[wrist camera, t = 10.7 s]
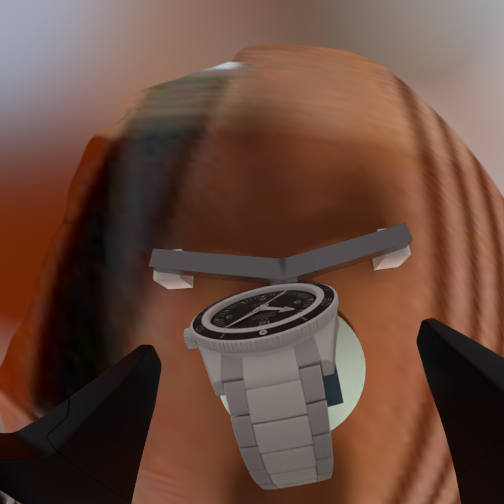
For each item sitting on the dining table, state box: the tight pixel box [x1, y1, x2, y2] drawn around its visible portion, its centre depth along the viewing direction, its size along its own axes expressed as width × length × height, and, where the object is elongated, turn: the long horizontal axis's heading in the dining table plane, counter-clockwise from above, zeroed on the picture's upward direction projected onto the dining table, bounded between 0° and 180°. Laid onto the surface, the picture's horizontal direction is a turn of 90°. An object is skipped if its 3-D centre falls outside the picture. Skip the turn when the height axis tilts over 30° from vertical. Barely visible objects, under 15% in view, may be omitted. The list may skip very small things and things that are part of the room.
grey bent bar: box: [149, 223, 413, 284], centre depth 16 cm, size 16×3×1 cm, turn 93°
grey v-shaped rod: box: [153, 228, 411, 289], centre depth 18 cm, size 17×3×2 cm, turn 93°
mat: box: [220, 316, 366, 431], centre depth 16 cm, size 10×10×1 cm
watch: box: [184, 282, 344, 490], centre depth 11 cm, size 6×8×11 cm
